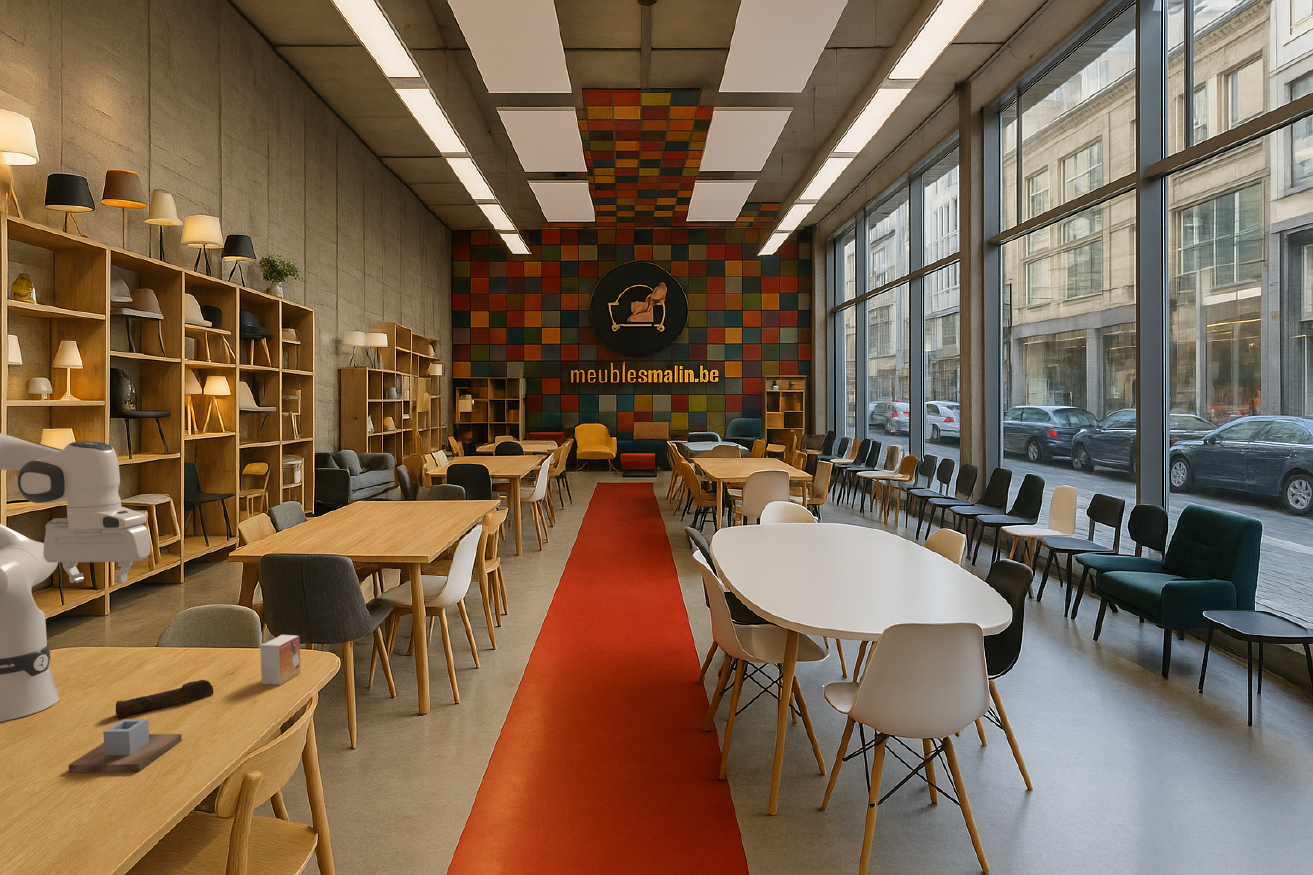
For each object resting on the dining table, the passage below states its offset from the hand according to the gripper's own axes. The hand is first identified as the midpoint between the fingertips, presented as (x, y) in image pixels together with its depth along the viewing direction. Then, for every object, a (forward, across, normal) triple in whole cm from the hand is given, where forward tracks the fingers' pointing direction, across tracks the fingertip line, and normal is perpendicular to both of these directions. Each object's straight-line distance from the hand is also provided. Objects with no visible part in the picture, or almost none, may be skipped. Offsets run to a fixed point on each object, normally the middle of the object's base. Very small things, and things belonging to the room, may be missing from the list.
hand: (98, 581), depth 143 cm
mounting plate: (+35, +9, -6) cm, 37 cm away
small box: (+35, +20, +32) cm, 52 cm away
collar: (+34, +9, -6) cm, 35 cm away
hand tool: (+36, 0, +17) cm, 39 cm away
